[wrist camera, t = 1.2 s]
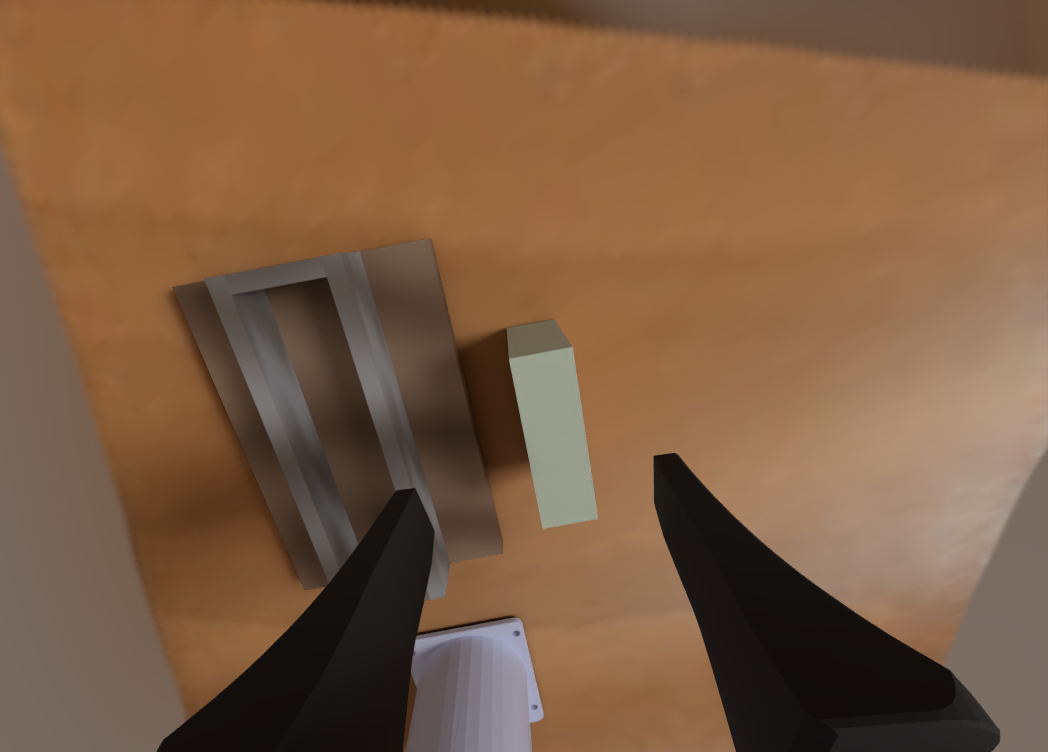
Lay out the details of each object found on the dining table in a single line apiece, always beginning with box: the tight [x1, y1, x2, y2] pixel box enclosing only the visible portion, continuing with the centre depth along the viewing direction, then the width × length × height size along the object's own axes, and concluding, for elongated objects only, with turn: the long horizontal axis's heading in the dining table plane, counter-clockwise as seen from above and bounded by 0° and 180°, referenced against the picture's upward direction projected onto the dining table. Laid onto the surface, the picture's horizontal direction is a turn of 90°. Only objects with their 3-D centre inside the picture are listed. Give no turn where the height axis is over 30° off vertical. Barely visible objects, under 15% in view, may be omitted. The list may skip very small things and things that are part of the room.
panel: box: [507, 319, 598, 529], centre depth 20 cm, size 8×2×6 cm, turn 10°
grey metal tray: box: [172, 239, 503, 601], centre depth 22 cm, size 18×12×4 cm, turn 10°
